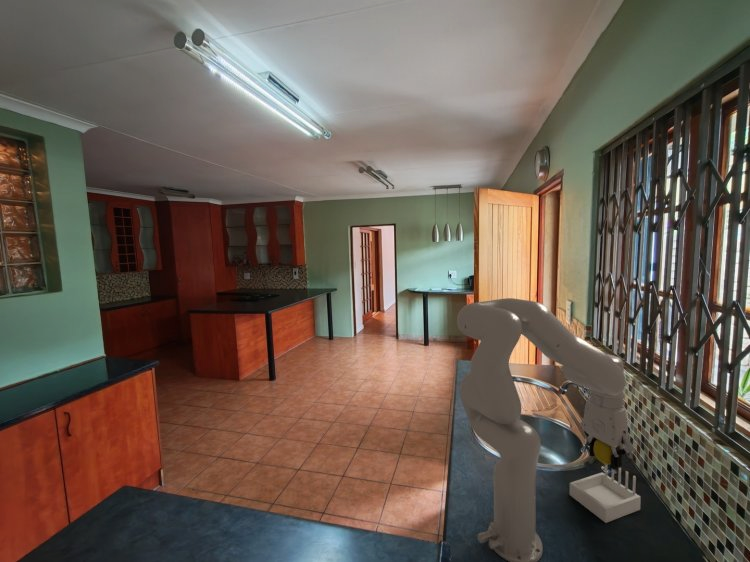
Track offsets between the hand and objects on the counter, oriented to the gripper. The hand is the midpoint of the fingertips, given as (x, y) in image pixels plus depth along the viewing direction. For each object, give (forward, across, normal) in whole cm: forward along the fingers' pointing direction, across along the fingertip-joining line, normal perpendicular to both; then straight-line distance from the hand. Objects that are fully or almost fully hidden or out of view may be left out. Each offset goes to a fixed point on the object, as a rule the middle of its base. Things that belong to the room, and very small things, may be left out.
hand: (604, 460), depth 94 cm
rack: (+12, 0, 0) cm, 12 cm away
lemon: (+1, 0, 0) cm, 1 cm away
